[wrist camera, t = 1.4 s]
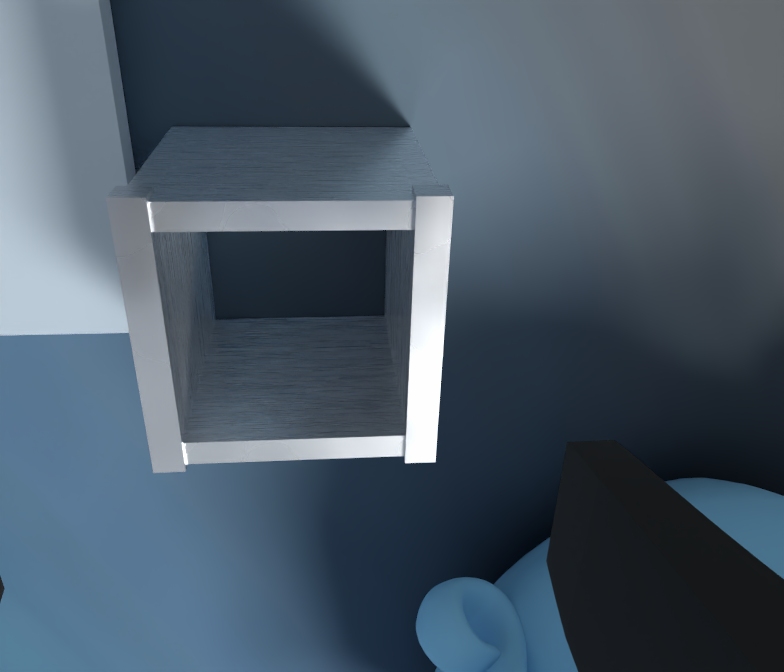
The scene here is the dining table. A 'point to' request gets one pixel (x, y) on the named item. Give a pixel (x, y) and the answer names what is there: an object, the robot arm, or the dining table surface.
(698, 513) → the robot arm
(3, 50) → the duct plate
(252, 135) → the white boxy piece
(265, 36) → the dining table surface
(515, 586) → the decorative pot
